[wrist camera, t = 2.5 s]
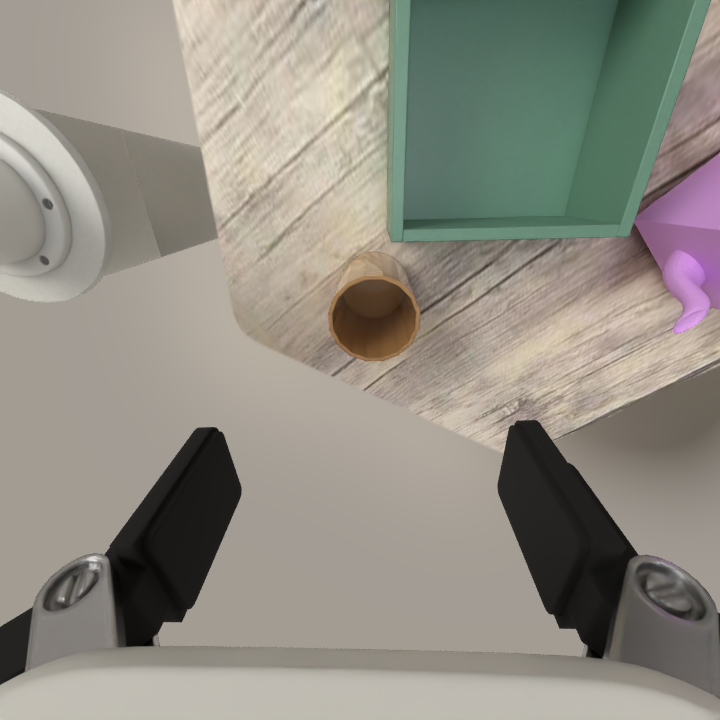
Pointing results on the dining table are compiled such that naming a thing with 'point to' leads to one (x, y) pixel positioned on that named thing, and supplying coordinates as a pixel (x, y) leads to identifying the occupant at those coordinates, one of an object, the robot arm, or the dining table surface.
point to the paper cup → (374, 308)
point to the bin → (529, 114)
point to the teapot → (688, 242)
